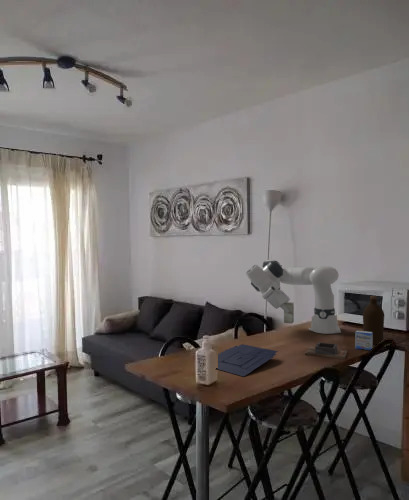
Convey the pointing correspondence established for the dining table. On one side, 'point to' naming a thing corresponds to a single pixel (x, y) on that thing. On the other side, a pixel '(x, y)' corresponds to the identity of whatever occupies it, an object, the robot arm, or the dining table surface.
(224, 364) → the dark blue flat slab
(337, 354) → the rack
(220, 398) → the dining table surface
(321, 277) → the robot arm
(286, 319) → the peg block
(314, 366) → the dining table surface
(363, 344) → the medicine box
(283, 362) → the dining table surface
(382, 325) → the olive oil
